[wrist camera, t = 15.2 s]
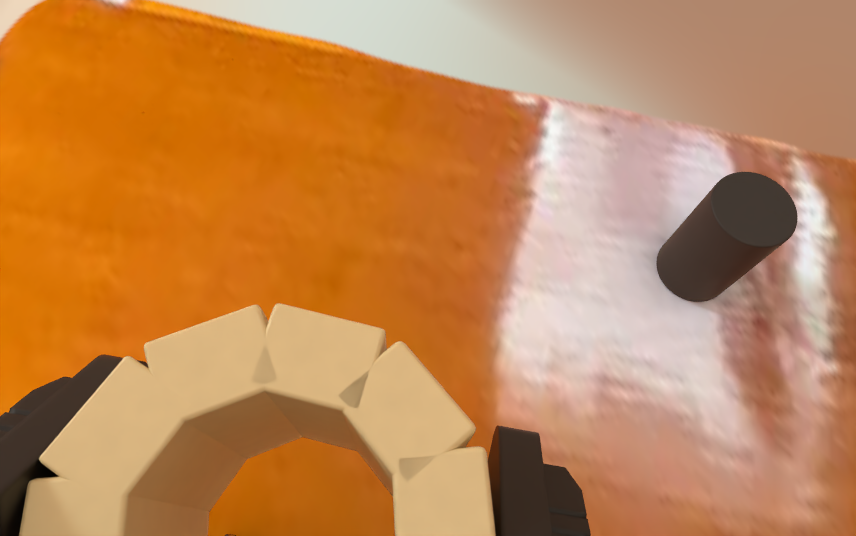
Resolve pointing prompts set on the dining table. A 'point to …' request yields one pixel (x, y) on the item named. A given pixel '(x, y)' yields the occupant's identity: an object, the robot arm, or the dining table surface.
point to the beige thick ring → (258, 428)
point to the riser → (726, 236)
